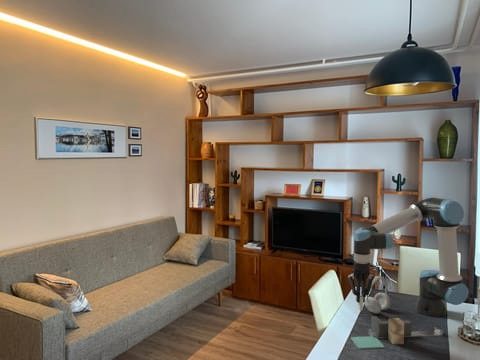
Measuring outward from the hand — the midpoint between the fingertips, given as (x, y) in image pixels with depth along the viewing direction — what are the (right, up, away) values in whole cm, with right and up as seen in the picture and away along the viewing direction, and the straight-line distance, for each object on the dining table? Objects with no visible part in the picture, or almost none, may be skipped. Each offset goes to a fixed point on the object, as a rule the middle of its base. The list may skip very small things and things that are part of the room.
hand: (360, 308), depth 186 cm
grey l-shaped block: (+15, -11, 0) cm, 19 cm away
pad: (0, -12, -11) cm, 16 cm away
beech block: (+14, -12, -9) cm, 20 cm away
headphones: (+17, -10, +25) cm, 32 cm away
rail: (+21, -12, -3) cm, 24 cm away
